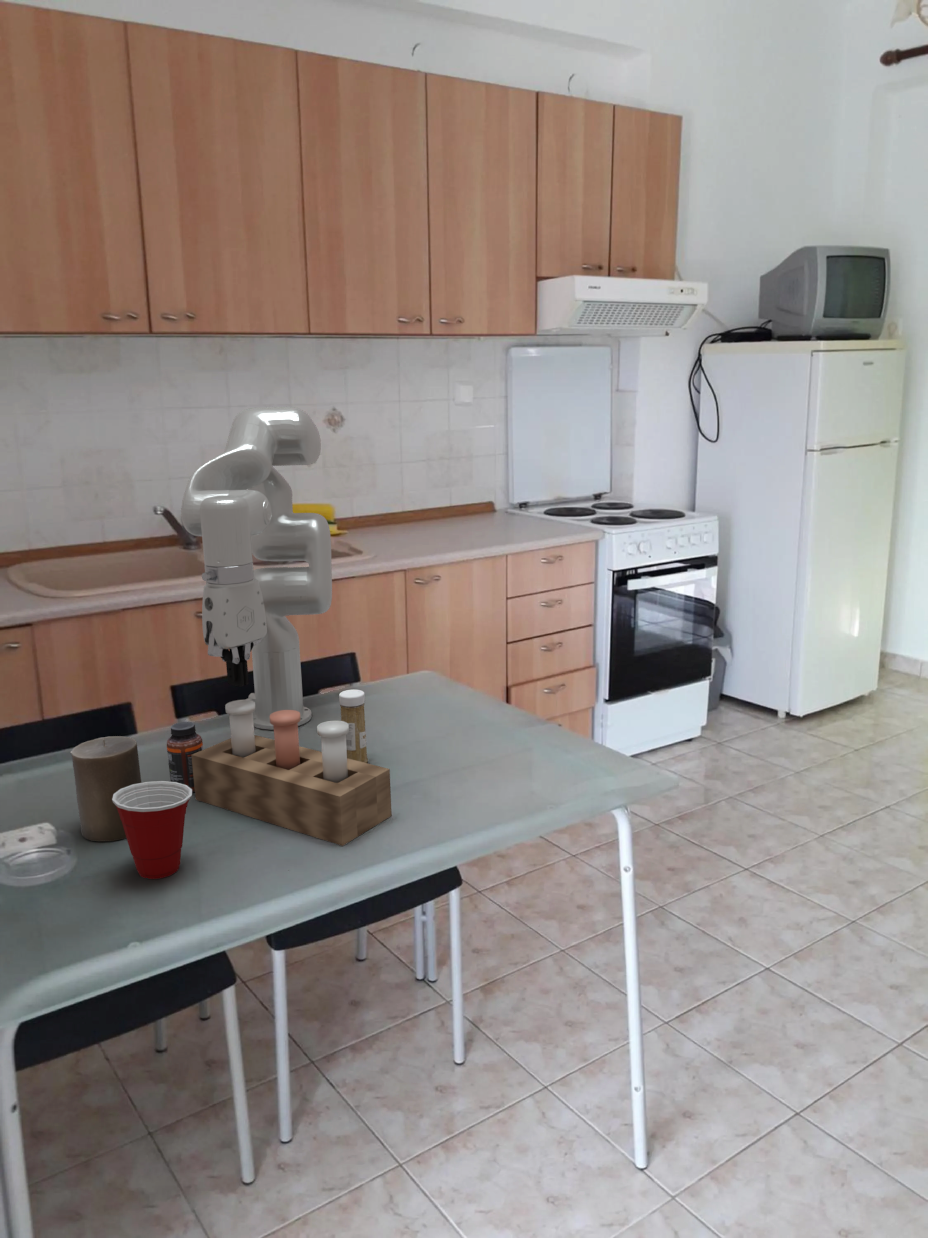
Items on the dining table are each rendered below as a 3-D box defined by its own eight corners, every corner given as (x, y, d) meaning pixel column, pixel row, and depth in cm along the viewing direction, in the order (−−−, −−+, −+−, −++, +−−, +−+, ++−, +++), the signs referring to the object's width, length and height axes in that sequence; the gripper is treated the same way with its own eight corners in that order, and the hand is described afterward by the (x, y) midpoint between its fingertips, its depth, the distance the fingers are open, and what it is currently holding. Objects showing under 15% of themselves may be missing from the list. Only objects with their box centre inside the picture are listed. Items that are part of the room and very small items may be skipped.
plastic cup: (214, 866, 141) (207, 789, 138) (147, 896, 133) (138, 815, 130) (173, 844, 148) (165, 770, 145) (106, 871, 140) (97, 794, 138)
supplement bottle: (213, 782, 171) (207, 720, 168) (195, 795, 165) (189, 732, 162) (182, 778, 172) (177, 718, 170) (164, 792, 167) (157, 730, 164)
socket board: (195, 799, 164) (191, 754, 162) (247, 775, 173) (244, 732, 171) (342, 846, 146) (340, 796, 145) (391, 815, 156) (389, 769, 154)
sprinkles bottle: (372, 764, 177) (369, 693, 174) (349, 770, 175) (346, 698, 171) (360, 756, 181) (357, 687, 177) (338, 762, 178) (334, 691, 175)
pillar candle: (152, 832, 152) (142, 741, 149) (86, 848, 147) (74, 754, 144) (139, 810, 160) (129, 723, 157) (76, 824, 156) (64, 735, 152)
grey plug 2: (314, 788, 152) (310, 727, 150) (334, 777, 156) (331, 718, 154) (337, 795, 150) (334, 733, 147) (357, 784, 154) (354, 724, 151)
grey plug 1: (223, 763, 163) (219, 706, 161) (244, 753, 167) (240, 698, 165) (244, 769, 161) (239, 711, 158) (265, 759, 164) (261, 702, 162)
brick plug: (267, 775, 158) (263, 716, 155) (288, 765, 162) (284, 708, 159) (289, 781, 155) (285, 722, 153) (310, 771, 159) (306, 713, 157)
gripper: (210, 585, 148) (220, 700, 152) (279, 568, 160) (287, 676, 164) (176, 580, 152) (187, 693, 156) (246, 564, 164) (254, 669, 168)
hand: (238, 684), depth 160 cm, fingers closed
